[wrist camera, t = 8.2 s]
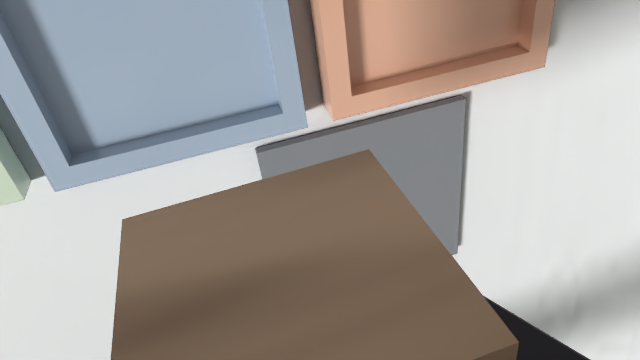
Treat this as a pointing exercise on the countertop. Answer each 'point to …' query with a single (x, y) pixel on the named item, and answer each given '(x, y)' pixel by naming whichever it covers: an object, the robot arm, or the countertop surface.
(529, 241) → the countertop surface
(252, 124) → the dish slate
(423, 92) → the dish terracotta
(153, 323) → the letter cube
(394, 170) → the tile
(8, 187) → the dish sage
